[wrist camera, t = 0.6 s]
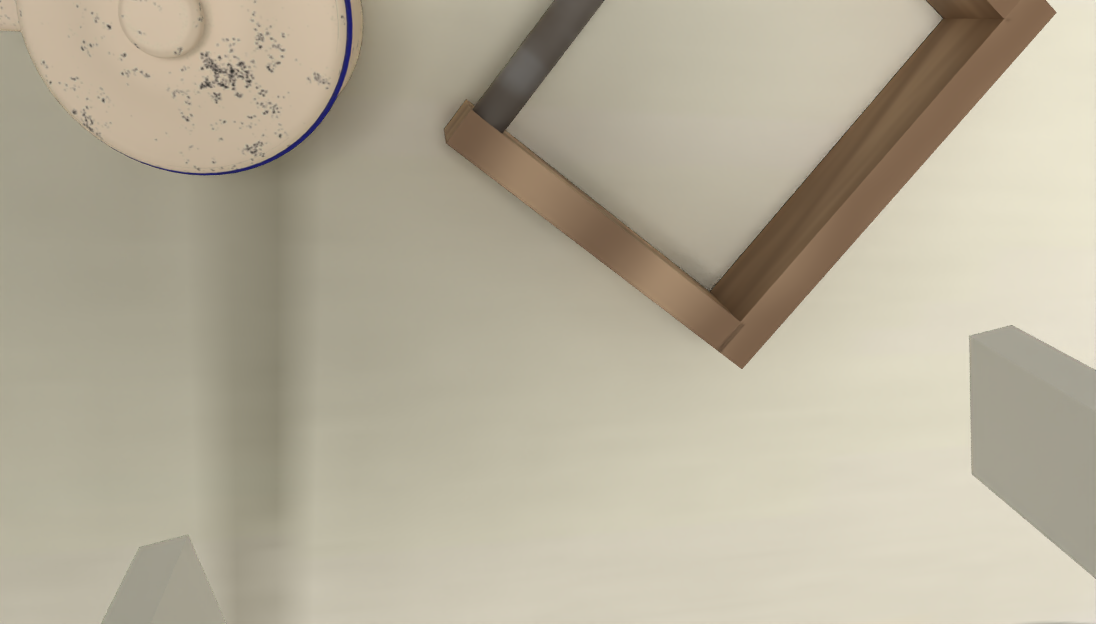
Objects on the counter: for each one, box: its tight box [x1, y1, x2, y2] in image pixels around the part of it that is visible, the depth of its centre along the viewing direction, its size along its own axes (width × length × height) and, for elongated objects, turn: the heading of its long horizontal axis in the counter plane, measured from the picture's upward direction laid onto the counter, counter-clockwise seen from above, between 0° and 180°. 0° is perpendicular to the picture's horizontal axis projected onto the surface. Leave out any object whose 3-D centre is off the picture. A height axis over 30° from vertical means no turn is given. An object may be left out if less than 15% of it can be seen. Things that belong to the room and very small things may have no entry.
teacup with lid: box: [0, 0, 363, 175], centre depth 26 cm, size 12×9×12 cm
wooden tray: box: [444, 0, 1056, 369], centre depth 33 cm, size 15×18×4 cm
